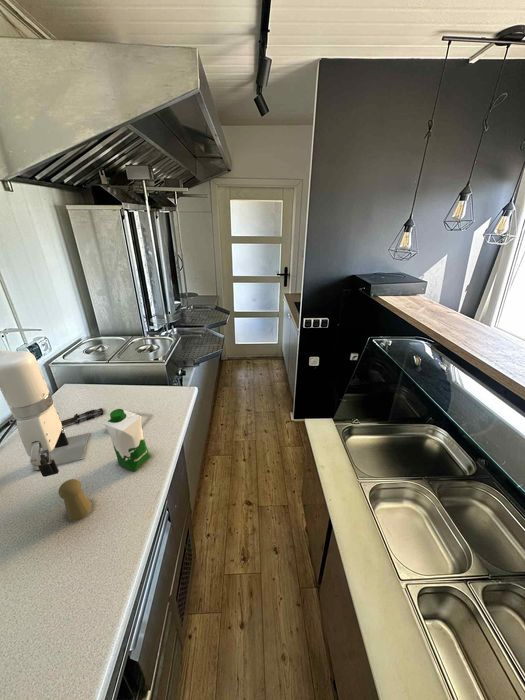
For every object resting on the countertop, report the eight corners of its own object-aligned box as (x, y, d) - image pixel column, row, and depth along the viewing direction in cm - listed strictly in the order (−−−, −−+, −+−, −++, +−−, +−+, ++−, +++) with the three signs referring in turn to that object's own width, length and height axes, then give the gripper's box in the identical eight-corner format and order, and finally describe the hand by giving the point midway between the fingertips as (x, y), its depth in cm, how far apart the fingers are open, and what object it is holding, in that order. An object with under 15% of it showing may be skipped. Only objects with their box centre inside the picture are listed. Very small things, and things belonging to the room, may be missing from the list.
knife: (29, 439, 107) (28, 436, 107) (32, 428, 113) (31, 425, 112) (104, 417, 118) (103, 414, 118) (103, 409, 123) (102, 406, 123)
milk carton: (135, 448, 102) (122, 403, 94) (154, 456, 99) (143, 410, 90) (114, 466, 95) (99, 419, 86) (134, 475, 92) (120, 427, 83)
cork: (63, 514, 80) (50, 487, 76) (85, 498, 85) (74, 471, 80) (74, 525, 77) (61, 498, 72) (96, 508, 82) (85, 481, 77)
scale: (31, 473, 93) (28, 468, 92) (44, 444, 105) (42, 439, 104) (82, 461, 97) (80, 456, 96) (89, 434, 109) (87, 429, 108)
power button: (35, 464, 94) (34, 461, 93) (38, 458, 96) (36, 455, 95) (45, 462, 94) (43, 459, 94) (47, 456, 97) (45, 453, 96)
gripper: (26, 387, 71) (49, 440, 78) (-6, 433, 56) (27, 492, 64) (61, 381, 73) (80, 433, 81) (39, 424, 58) (65, 482, 66)
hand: (56, 459), depth 72 cm, fingers open, 9 cm apart
